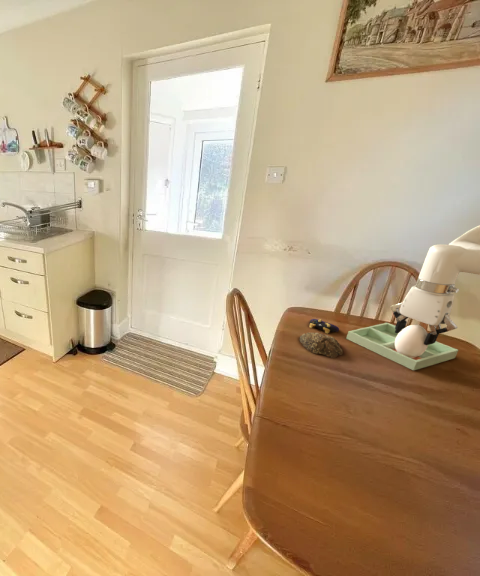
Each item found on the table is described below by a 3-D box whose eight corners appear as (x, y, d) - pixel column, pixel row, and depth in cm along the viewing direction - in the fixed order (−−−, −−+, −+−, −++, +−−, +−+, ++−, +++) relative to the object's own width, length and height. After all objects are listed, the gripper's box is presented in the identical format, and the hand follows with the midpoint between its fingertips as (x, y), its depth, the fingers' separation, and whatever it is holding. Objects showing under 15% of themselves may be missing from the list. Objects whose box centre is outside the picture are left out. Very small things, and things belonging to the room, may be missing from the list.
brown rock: (296, 336, 117) (299, 324, 116) (336, 342, 113) (339, 330, 111) (304, 354, 106) (307, 341, 104) (348, 361, 102) (352, 348, 100)
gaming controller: (340, 329, 120) (338, 322, 116) (333, 340, 119) (331, 334, 116) (312, 319, 127) (310, 313, 124) (306, 330, 127) (303, 324, 123)
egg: (413, 353, 104) (426, 321, 100) (426, 365, 98) (440, 332, 93) (386, 349, 107) (397, 318, 102) (396, 360, 100) (409, 328, 96)
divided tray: (384, 330, 120) (387, 322, 119) (454, 359, 102) (458, 349, 101) (345, 339, 115) (348, 331, 113) (412, 371, 96) (417, 362, 95)
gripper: (482, 294, 87) (456, 349, 93) (407, 276, 102) (389, 324, 108) (465, 298, 84) (440, 354, 91) (391, 278, 100) (374, 327, 106)
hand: (413, 337), depth 100 cm, fingers closed on egg, 7 cm apart
